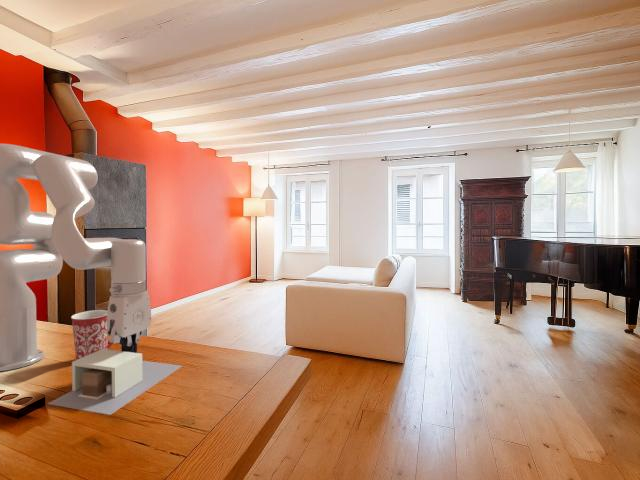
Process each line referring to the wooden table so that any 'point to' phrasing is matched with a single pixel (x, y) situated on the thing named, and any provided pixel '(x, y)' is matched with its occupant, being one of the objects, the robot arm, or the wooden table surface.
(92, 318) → the mug
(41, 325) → the wooden table surface
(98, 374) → the block
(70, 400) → the base board
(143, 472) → the wooden table surface
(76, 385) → the housing cover
